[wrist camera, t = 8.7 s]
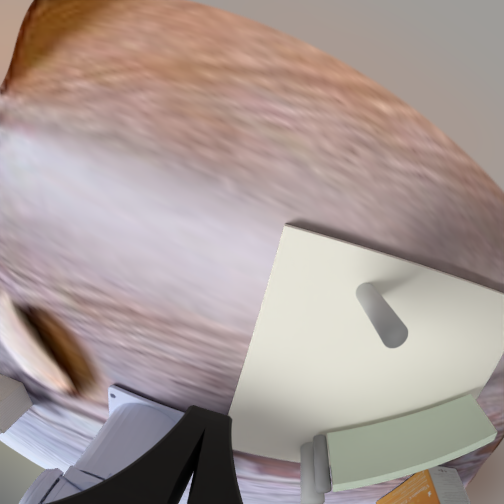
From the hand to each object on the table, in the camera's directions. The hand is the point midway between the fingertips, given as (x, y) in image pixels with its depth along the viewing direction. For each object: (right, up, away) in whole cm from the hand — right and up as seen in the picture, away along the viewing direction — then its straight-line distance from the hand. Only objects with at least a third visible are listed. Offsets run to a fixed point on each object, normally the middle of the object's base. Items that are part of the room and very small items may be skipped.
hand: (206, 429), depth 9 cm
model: (-30, -11, +17) cm, 36 cm away
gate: (+12, -7, +9) cm, 17 cm away
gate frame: (+11, -4, +10) cm, 15 cm away
